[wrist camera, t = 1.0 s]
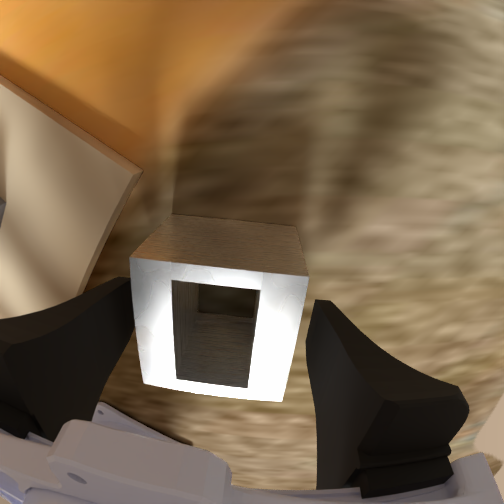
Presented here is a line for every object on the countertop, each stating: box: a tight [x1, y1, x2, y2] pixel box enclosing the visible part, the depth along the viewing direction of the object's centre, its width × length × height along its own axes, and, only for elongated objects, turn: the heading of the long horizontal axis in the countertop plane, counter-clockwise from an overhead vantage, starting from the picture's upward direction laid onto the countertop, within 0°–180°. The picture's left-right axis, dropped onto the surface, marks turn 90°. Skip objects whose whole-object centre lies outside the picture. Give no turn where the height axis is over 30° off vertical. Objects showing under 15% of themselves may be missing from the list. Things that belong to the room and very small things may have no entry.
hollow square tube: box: [129, 214, 309, 402], centre depth 13 cm, size 6×6×5 cm
